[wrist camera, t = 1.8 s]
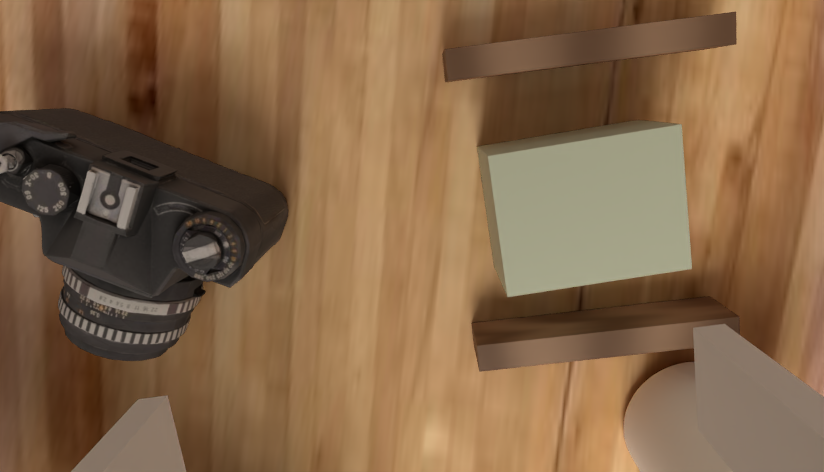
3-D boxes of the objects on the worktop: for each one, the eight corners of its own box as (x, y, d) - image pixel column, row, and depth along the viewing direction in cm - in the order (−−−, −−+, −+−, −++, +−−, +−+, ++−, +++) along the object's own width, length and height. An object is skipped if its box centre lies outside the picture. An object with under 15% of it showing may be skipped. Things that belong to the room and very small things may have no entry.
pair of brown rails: (474, 346, 38) (479, 371, 34) (442, 53, 34) (445, 49, 31) (710, 320, 37) (739, 343, 34) (703, 20, 33) (735, 11, 30)
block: (493, 265, 37) (507, 297, 31) (476, 146, 35) (487, 156, 29) (648, 241, 36) (691, 269, 30) (637, 119, 35) (681, 124, 29)
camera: (14, 268, 37) (-130, 329, 27) (57, 90, 35) (-83, 87, 25) (246, 347, 38) (186, 434, 28) (302, 179, 36) (258, 211, 26)
